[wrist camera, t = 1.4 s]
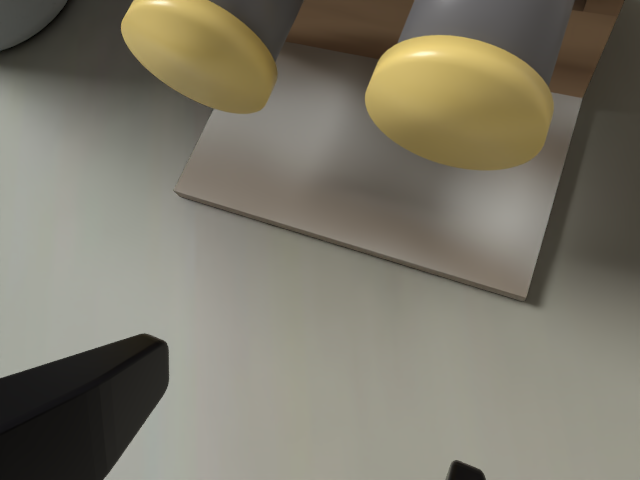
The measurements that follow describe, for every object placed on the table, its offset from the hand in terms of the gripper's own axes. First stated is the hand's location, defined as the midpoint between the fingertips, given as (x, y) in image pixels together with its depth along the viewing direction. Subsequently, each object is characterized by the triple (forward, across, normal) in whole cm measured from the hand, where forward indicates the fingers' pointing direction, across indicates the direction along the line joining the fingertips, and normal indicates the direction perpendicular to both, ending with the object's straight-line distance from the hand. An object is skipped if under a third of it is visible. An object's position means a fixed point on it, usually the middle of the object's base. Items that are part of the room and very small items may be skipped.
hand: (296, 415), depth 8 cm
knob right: (+13, 0, -4) cm, 14 cm away
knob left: (+13, +8, -4) cm, 16 cm away
